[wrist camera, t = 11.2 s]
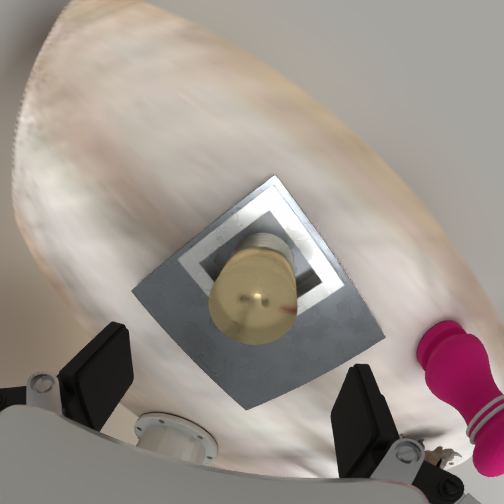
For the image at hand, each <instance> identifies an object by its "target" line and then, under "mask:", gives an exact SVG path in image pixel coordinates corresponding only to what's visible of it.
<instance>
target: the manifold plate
mask: <svg viewBox="0 0 504 504" xmlns="http://www.w3.org/2000/svg"><path fill="white" fill-rule="evenodd" d="M256 233H269V234H272V235H275V236H277V237H279V238H280V239H282V240H283V241H284V242H285V243H286V244H287V245H288V247H289V248H290V250H291V252H292V255H293V262H294V271H295V282H296V292H297V303H298V310H297V316H296V319H295V321H294V324H293V325H292V327H291V328H290V329H289V331H288V332H287V333H286V334H285V335H283V336H282V337H280V338H279V339H277V340H275V341H273V342H270V343H266V344H260V345H250V344H244V343H240V342H237V341H235V340H233V339H231V338H229V337H228V336H226V335H225V334H224V333H222V332H221V331H220V330H219V329H218V327H217V326H216V325H215V323H214V321H213V320H212V317H211V315H210V311H209V294H210V291H211V289H212V287H213V285H214V283H215V281H216V280H217V278H218V276H219V275H220V273H221V271H222V270H223V268H224V267H225V265H226V263H227V262H228V260H229V258H230V257H231V255H232V253H233V252H234V250H235V248H236V247H237V245H238V244H239V243H240V242H241V241H242V240H243V239H244V238H246V237H247V236H250V235H252V234H256ZM132 293H133V294H134V295H135V296H136V298H137V299H138V300H139V301H140V302H141V304H142V305H143V306H144V307H145V308H146V309H147V311H148V312H149V313H150V314H151V315H152V316H153V318H154V319H155V320H156V321H157V322H158V323H159V324H160V326H161V327H162V328H163V329H164V330H165V331H166V332H167V333H168V334H169V336H170V337H171V338H172V339H173V340H174V341H175V342H176V343H177V344H178V345H179V346H180V347H181V348H182V350H183V351H184V352H185V353H186V354H187V355H188V356H189V357H190V358H191V359H192V360H193V361H194V362H195V363H196V364H197V365H198V366H199V367H200V368H201V369H202V370H203V371H204V372H205V373H206V374H207V375H208V376H209V377H210V378H211V379H212V380H213V381H214V382H215V383H217V384H218V385H219V386H220V387H221V388H222V389H223V390H224V391H225V392H226V393H227V394H228V395H229V396H231V397H232V398H233V399H234V400H235V401H236V402H237V403H238V404H239V405H241V406H242V407H243V408H244V409H245V410H248V409H251V408H253V407H256V406H258V405H260V404H263V403H265V402H267V401H270V400H272V399H274V398H276V397H279V396H281V395H283V394H285V393H287V392H289V391H291V390H293V389H296V388H298V387H300V386H302V385H304V384H306V383H308V382H310V381H312V380H313V379H315V378H317V377H319V376H321V375H323V374H325V373H327V372H329V371H330V370H332V369H334V368H336V367H338V366H339V365H341V364H343V363H345V362H346V361H348V360H350V359H352V358H353V357H355V356H357V355H358V354H360V353H362V352H363V351H365V350H367V349H368V348H370V347H371V346H373V345H375V344H376V343H378V342H379V341H381V340H382V339H384V338H385V335H384V334H383V332H382V330H381V328H380V327H379V325H378V323H377V322H376V320H375V318H374V317H373V315H372V313H371V312H370V310H369V309H368V307H367V305H366V304H365V302H364V301H363V299H362V298H361V296H360V294H359V293H358V291H357V290H356V288H355V287H354V285H353V284H352V282H351V280H350V279H349V277H348V276H347V274H346V273H345V271H344V270H343V268H342V267H341V265H340V264H339V262H338V261H337V259H336V258H335V256H334V255H333V253H332V252H331V251H330V249H329V248H328V246H327V245H326V243H325V242H324V240H323V239H322V238H321V236H320V235H319V233H318V232H317V230H316V229H315V228H314V226H313V225H312V223H311V222H310V221H309V219H308V218H307V216H306V215H305V214H304V212H303V211H302V210H301V208H300V207H299V205H298V204H297V203H296V201H295V200H294V199H293V197H292V196H291V195H290V193H289V192H288V191H287V189H286V188H285V187H284V185H283V184H282V183H281V181H280V180H279V179H278V177H277V176H276V175H274V176H273V177H272V178H270V179H269V180H268V181H266V182H265V183H264V184H262V185H261V186H260V187H258V188H257V189H256V190H254V191H253V192H252V193H251V194H249V195H248V196H247V197H245V198H244V199H243V200H241V201H240V202H239V203H238V204H236V205H235V206H234V207H232V208H231V209H230V210H228V211H227V212H226V213H225V214H223V215H222V216H221V217H220V218H218V219H217V220H216V221H215V222H213V223H212V224H211V225H209V226H208V227H207V228H206V229H204V230H203V231H202V232H201V233H200V234H198V235H197V236H196V237H195V238H193V239H192V240H191V241H190V242H188V243H187V244H186V245H185V246H184V247H182V248H181V249H180V250H179V251H177V252H176V253H175V254H174V255H173V256H171V257H170V258H169V259H168V260H167V261H165V262H164V263H163V264H162V265H161V266H160V267H158V268H157V269H156V270H155V271H154V272H152V273H151V274H150V275H149V276H148V277H147V278H145V279H144V280H143V281H142V282H141V283H140V284H139V285H137V286H136V287H135V288H134V289H133V290H132Z"/></svg>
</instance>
